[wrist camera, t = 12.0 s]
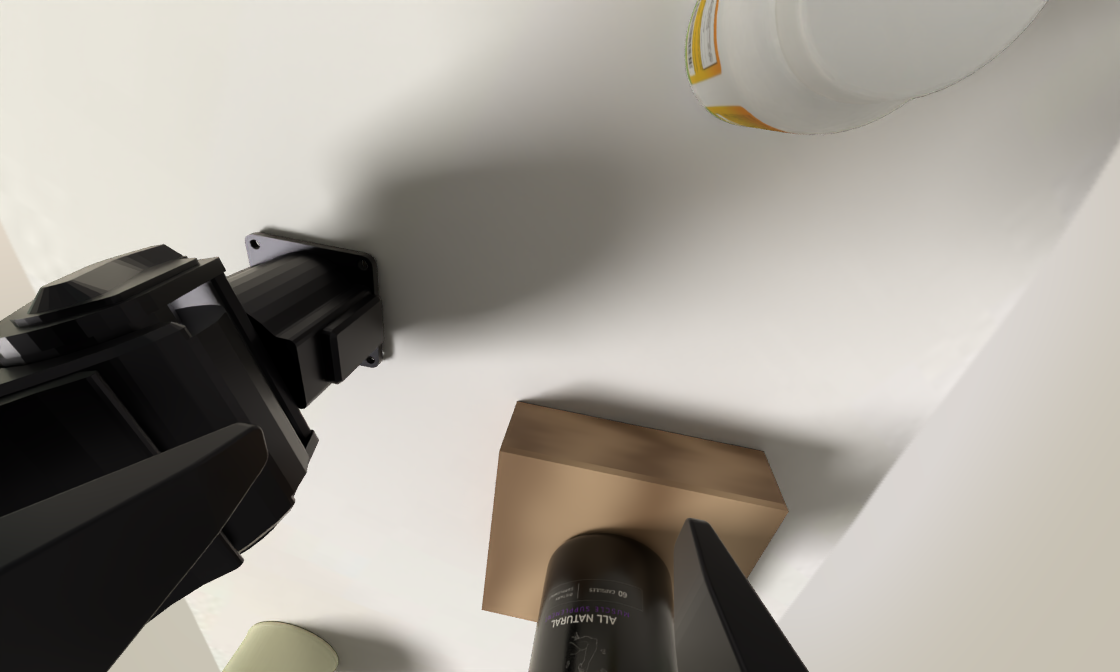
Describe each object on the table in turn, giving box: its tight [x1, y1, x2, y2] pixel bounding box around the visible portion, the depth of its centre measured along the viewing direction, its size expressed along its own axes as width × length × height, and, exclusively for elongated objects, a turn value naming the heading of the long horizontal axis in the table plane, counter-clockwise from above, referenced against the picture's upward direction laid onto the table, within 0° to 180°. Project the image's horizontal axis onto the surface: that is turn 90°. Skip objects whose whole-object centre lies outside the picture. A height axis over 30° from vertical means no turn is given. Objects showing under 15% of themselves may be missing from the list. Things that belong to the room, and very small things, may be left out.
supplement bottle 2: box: [685, 0, 1048, 135], centre depth 11 cm, size 5×5×10 cm
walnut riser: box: [482, 401, 789, 622], centre depth 25 cm, size 14×14×4 cm
